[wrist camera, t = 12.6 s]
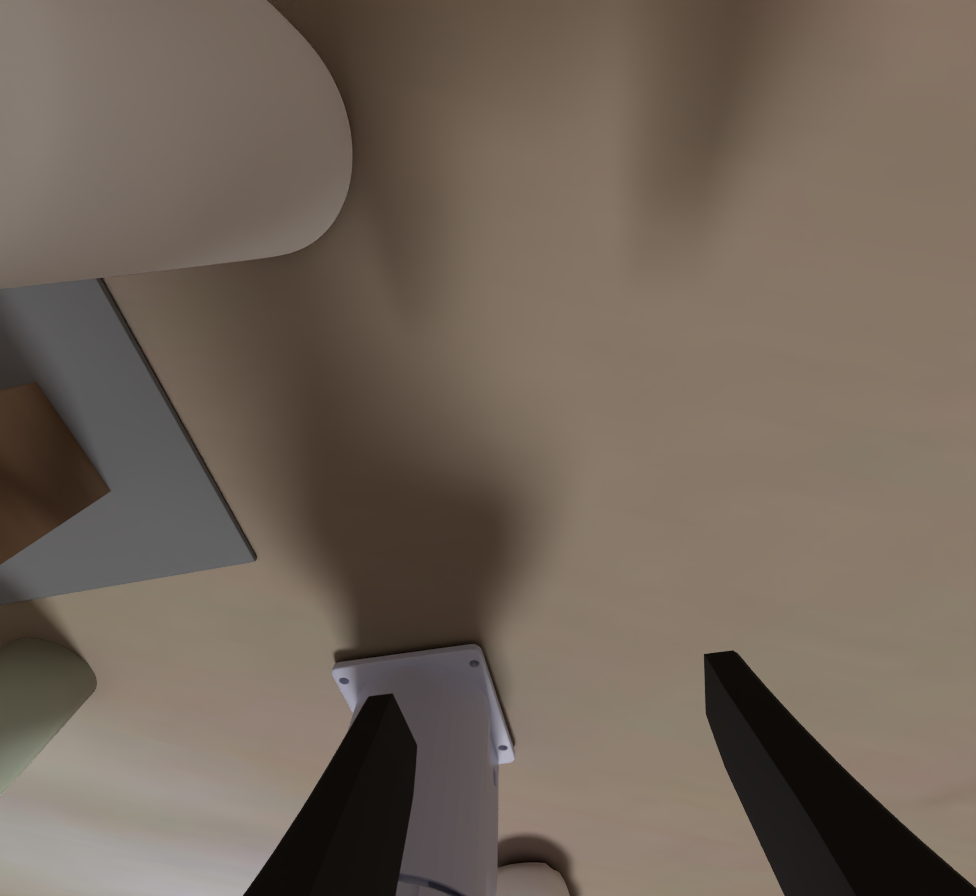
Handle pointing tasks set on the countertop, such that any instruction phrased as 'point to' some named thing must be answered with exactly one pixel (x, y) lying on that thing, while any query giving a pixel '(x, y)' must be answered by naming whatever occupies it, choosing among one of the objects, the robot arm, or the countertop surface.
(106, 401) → the slate mat
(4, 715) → the sage cylinder
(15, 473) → the walnut block
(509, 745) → the robot arm
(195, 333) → the countertop surface
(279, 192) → the can
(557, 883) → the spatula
